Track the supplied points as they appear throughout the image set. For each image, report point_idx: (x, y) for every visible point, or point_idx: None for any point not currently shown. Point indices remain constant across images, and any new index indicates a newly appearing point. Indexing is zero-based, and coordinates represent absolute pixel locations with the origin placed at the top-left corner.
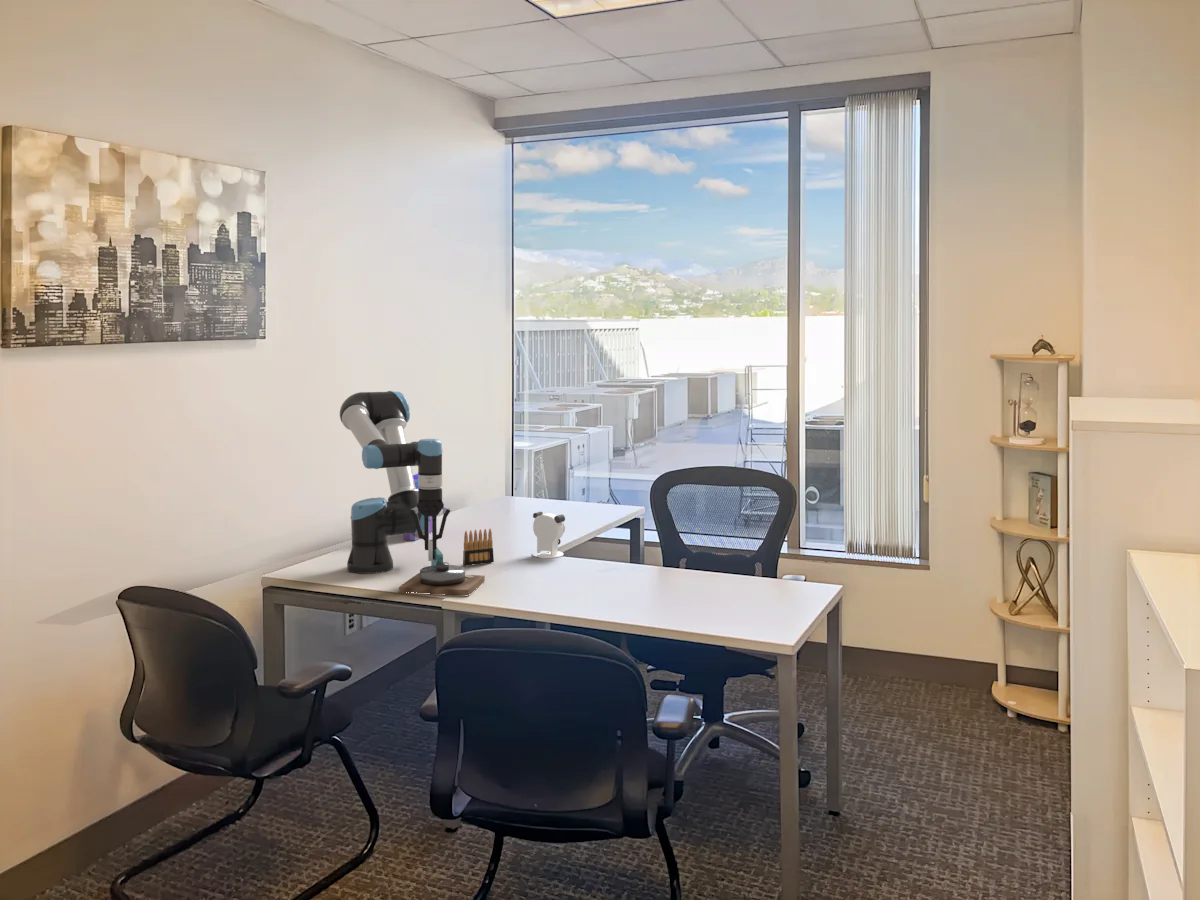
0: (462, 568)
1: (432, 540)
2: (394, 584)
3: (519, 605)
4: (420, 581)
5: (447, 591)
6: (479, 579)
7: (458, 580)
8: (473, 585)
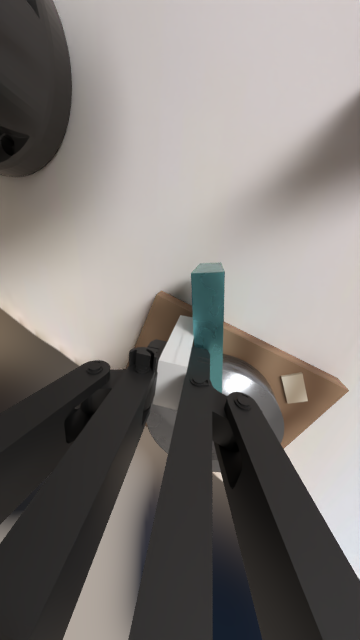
0: (275, 434)
1: (179, 399)
2: (101, 327)
3: None
4: None
5: None
6: (312, 420)
7: None
8: None
